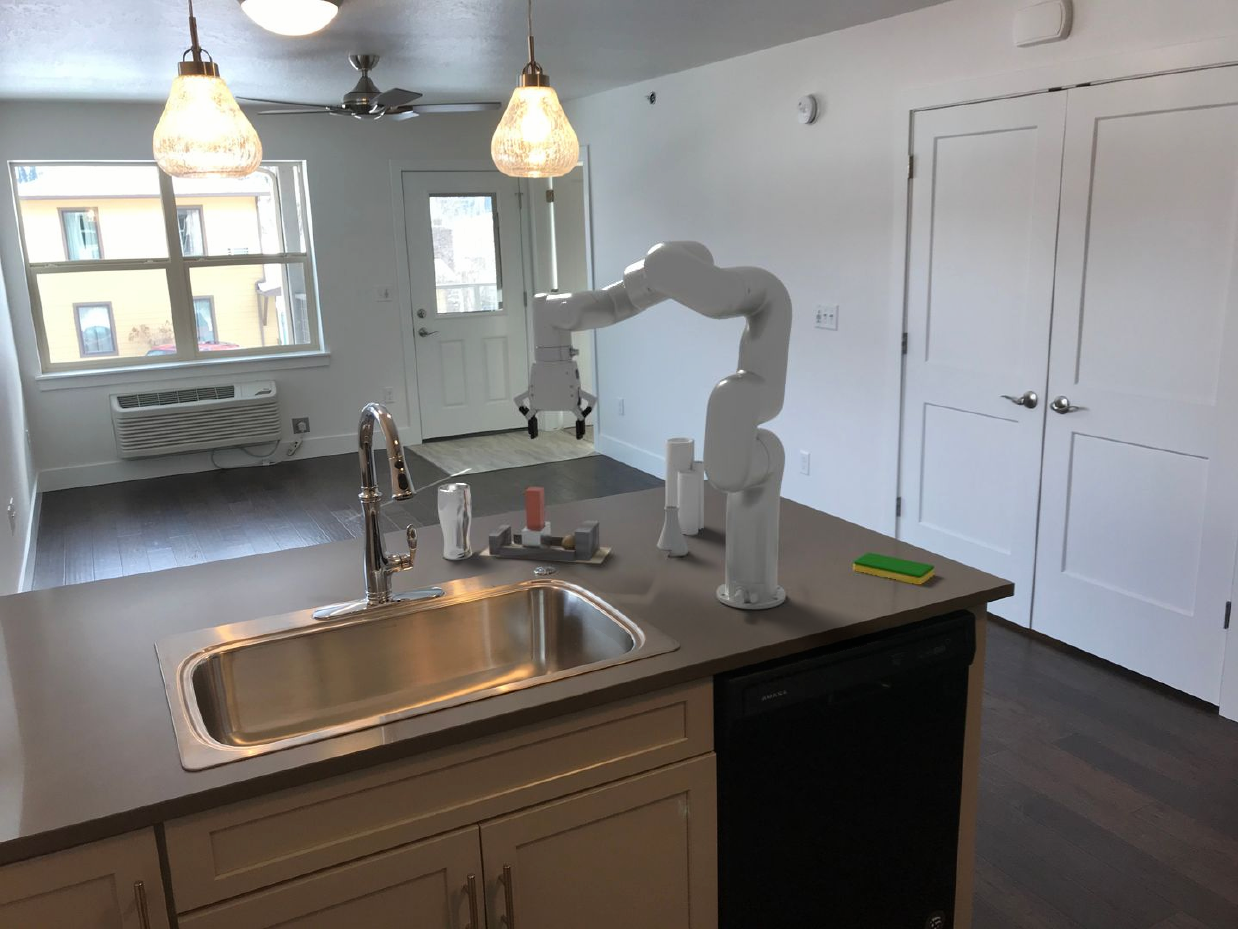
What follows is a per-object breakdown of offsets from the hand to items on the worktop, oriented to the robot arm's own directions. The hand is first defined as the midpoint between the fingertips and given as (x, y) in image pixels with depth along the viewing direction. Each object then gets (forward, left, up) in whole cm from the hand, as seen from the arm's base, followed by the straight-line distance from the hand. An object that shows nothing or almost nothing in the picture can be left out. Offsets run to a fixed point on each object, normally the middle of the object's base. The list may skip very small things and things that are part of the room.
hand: (557, 438), depth 197 cm
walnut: (-3, -3, -24) cm, 24 cm away
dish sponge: (+2, -68, -26) cm, 73 cm away
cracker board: (-3, +2, -25) cm, 25 cm away
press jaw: (-3, +4, -23) cm, 24 cm away
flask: (+6, -23, -26) cm, 35 cm away
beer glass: (-5, +21, -25) cm, 33 cm away
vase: (+24, -23, -25) cm, 42 cm away
